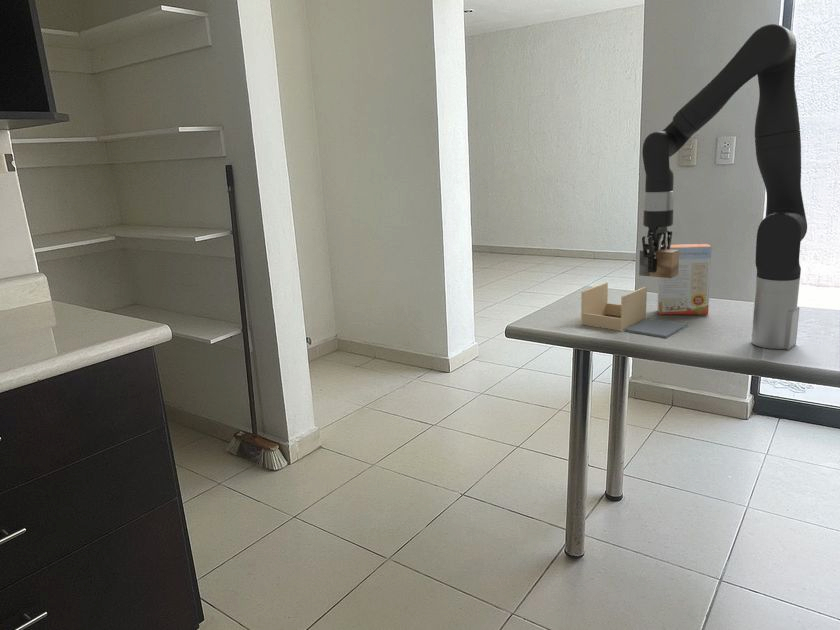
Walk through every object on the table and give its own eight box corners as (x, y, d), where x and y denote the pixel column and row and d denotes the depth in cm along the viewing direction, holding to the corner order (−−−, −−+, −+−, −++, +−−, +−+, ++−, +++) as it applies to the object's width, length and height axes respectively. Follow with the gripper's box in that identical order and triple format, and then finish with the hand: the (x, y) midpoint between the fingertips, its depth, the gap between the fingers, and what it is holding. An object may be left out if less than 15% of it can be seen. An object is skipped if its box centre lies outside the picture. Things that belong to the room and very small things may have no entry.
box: (678, 275, 166) (679, 249, 164) (671, 278, 163) (672, 252, 161) (646, 272, 172) (647, 248, 170) (639, 275, 169) (639, 250, 167)
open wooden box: (645, 319, 181) (646, 286, 178) (622, 331, 171) (623, 296, 168) (605, 313, 190) (606, 282, 187) (581, 324, 180) (581, 291, 177)
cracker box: (705, 310, 186) (709, 243, 181) (708, 315, 181) (712, 246, 175) (656, 310, 190) (659, 244, 185) (658, 315, 185) (661, 247, 179)
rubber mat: (687, 325, 172) (687, 323, 172) (666, 338, 162) (666, 335, 162) (646, 319, 180) (646, 318, 180) (624, 331, 171) (624, 329, 171)
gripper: (660, 211, 156) (658, 276, 160) (683, 205, 165) (680, 267, 170) (632, 211, 161) (631, 274, 165) (656, 205, 171) (654, 265, 175)
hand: (656, 270), depth 167 cm, fingers closed on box, 4 cm apart
